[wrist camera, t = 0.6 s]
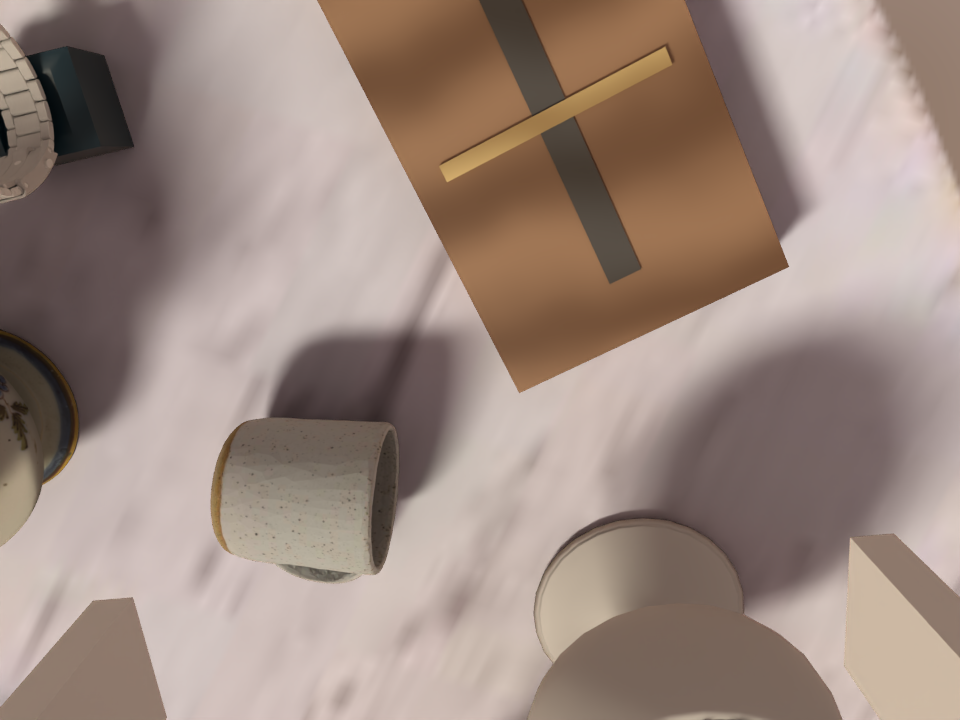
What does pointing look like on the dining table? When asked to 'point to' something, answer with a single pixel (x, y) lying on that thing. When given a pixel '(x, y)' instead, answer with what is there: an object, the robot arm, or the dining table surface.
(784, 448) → the dining table surface
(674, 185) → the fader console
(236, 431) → the ceramic mug
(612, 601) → the chalice
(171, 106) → the dining table surface
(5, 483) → the apothecary jar
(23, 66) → the watch
